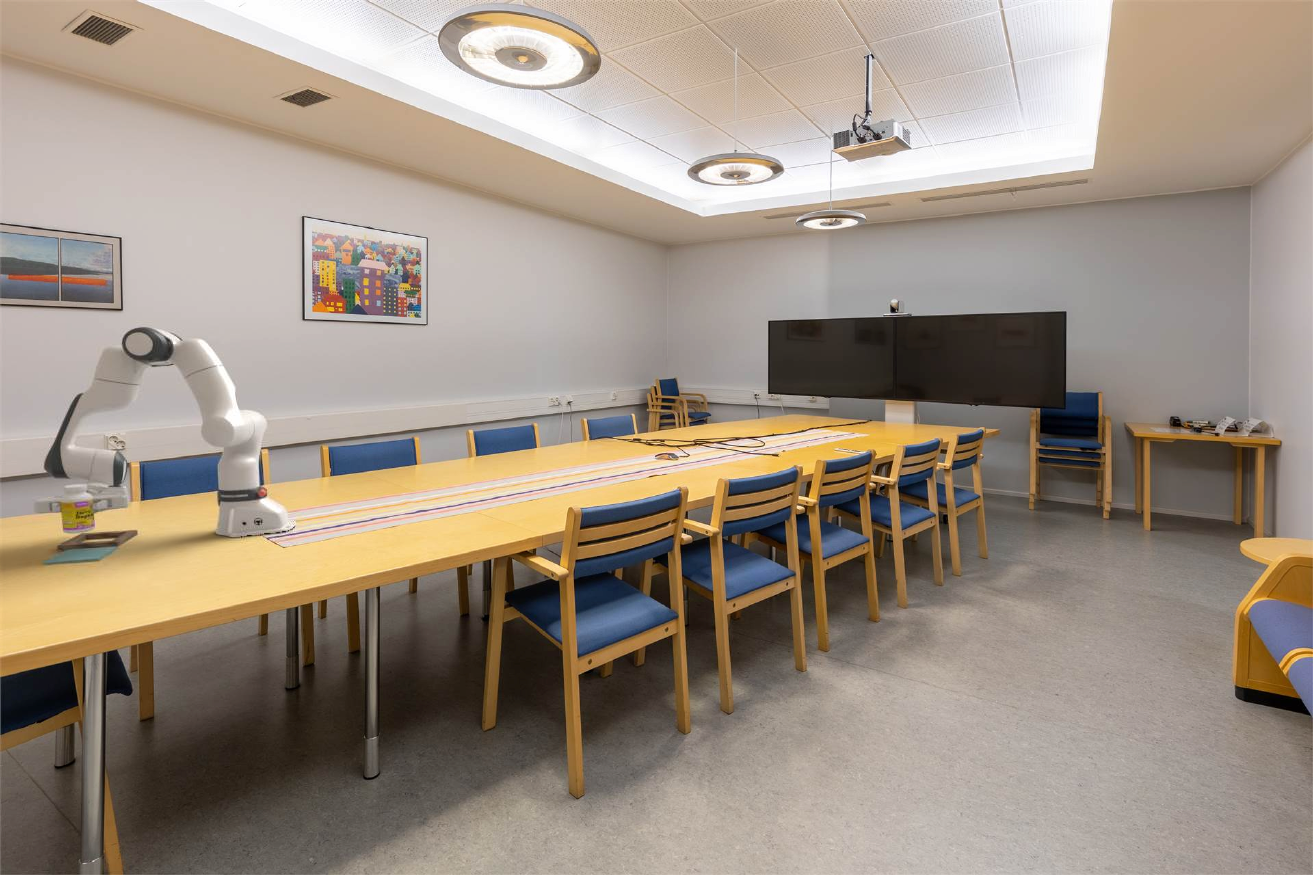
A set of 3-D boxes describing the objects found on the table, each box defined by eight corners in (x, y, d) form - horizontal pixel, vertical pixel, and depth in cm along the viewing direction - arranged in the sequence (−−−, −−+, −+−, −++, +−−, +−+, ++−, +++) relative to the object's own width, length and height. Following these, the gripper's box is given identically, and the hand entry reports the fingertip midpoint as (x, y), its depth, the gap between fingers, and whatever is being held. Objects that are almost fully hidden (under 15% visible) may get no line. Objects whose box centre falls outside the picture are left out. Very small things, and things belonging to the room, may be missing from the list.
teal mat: (118, 548, 185) (118, 546, 185) (98, 560, 174) (98, 558, 174) (67, 551, 181) (66, 549, 181) (43, 564, 170) (43, 562, 170)
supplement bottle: (76, 535, 173) (71, 488, 171) (56, 533, 174) (52, 487, 173) (101, 528, 179) (97, 484, 178) (83, 527, 181) (78, 482, 179)
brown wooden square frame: (137, 534, 200) (137, 529, 200) (117, 546, 187) (117, 541, 187) (82, 537, 195) (81, 533, 195) (57, 550, 182) (57, 545, 182)
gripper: (41, 490, 182) (24, 500, 170) (132, 485, 192) (122, 494, 180) (43, 512, 182) (26, 523, 170) (134, 506, 192) (124, 516, 181)
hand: (76, 508), depth 175 cm, fingers closed on supplement bottle, 7 cm apart
